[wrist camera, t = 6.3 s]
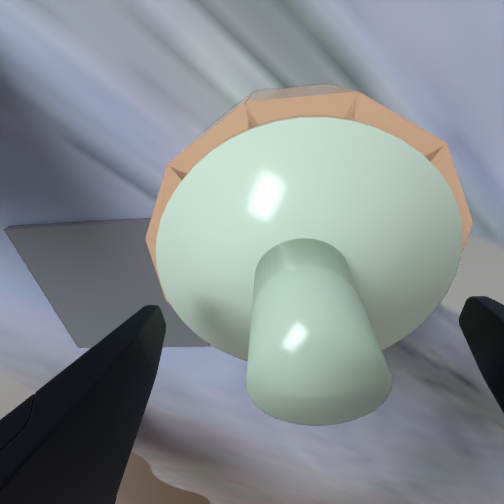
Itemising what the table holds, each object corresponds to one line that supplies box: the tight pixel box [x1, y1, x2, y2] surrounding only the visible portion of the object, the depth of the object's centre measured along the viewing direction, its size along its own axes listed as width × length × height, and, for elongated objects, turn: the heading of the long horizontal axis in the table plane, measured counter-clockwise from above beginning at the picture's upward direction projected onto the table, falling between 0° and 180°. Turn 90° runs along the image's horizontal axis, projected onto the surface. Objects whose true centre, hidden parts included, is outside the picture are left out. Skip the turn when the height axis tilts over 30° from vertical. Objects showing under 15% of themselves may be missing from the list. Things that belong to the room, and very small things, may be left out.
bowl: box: [145, 84, 473, 305], centre depth 12 cm, size 11×11×5 cm
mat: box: [4, 218, 210, 348], centre depth 18 cm, size 10×10×1 cm
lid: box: [156, 115, 463, 426], centre depth 8 cm, size 10×10×5 cm
